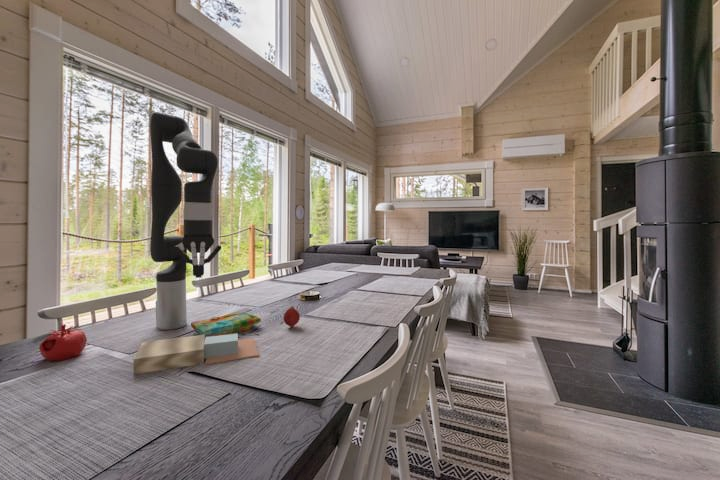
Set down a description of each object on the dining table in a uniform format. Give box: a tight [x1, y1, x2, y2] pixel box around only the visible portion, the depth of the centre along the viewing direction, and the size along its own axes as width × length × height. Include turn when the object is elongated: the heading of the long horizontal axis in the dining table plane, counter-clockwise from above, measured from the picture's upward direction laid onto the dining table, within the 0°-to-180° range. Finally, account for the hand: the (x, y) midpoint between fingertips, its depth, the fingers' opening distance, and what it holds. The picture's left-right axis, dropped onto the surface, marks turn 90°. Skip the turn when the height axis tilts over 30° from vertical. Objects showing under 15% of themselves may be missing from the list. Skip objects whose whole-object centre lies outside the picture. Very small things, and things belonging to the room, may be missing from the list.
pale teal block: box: [204, 333, 239, 359], centre depth 94 cm, size 9×6×4 cm, turn 111°
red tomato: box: [38, 324, 88, 362], centre depth 90 cm, size 10×10×9 cm
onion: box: [283, 305, 301, 328], centre depth 117 cm, size 6×6×8 cm
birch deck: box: [132, 334, 205, 375], centre depth 89 cm, size 16×12×4 cm
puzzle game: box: [190, 311, 262, 338], centre depth 113 cm, size 12×5×20 cm
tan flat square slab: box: [205, 337, 260, 366], centre depth 96 cm, size 14×14×1 cm
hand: (198, 277), depth 93 cm, fingers closed
